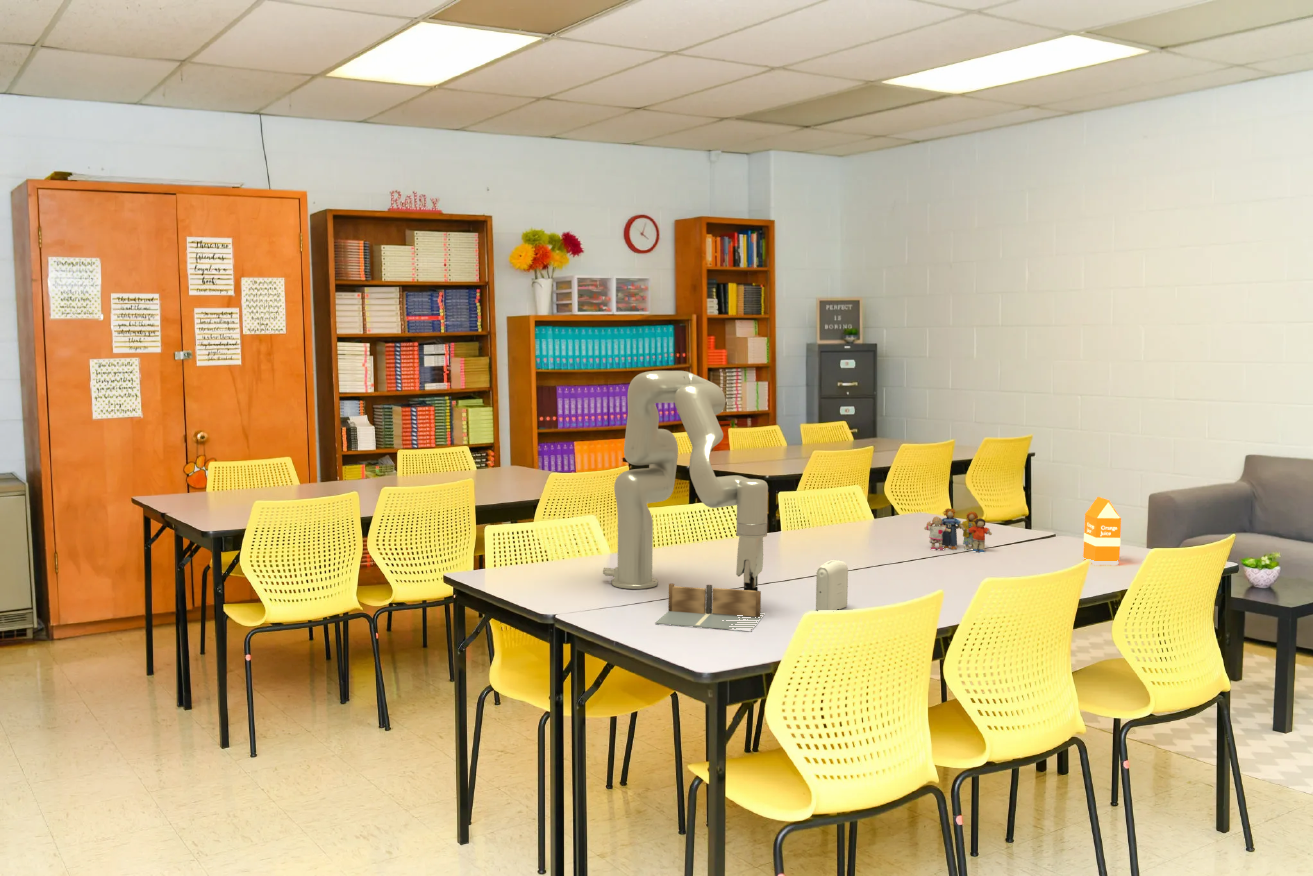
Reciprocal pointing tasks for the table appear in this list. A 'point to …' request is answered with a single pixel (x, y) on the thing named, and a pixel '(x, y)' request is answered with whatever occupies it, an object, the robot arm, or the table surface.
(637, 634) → the table surface
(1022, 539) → the table surface
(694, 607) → the fence fixed
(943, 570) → the table surface
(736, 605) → the fence gate
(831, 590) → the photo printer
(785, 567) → the table surface
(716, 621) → the card
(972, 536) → the doll family
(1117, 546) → the orange juice
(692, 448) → the robot arm
